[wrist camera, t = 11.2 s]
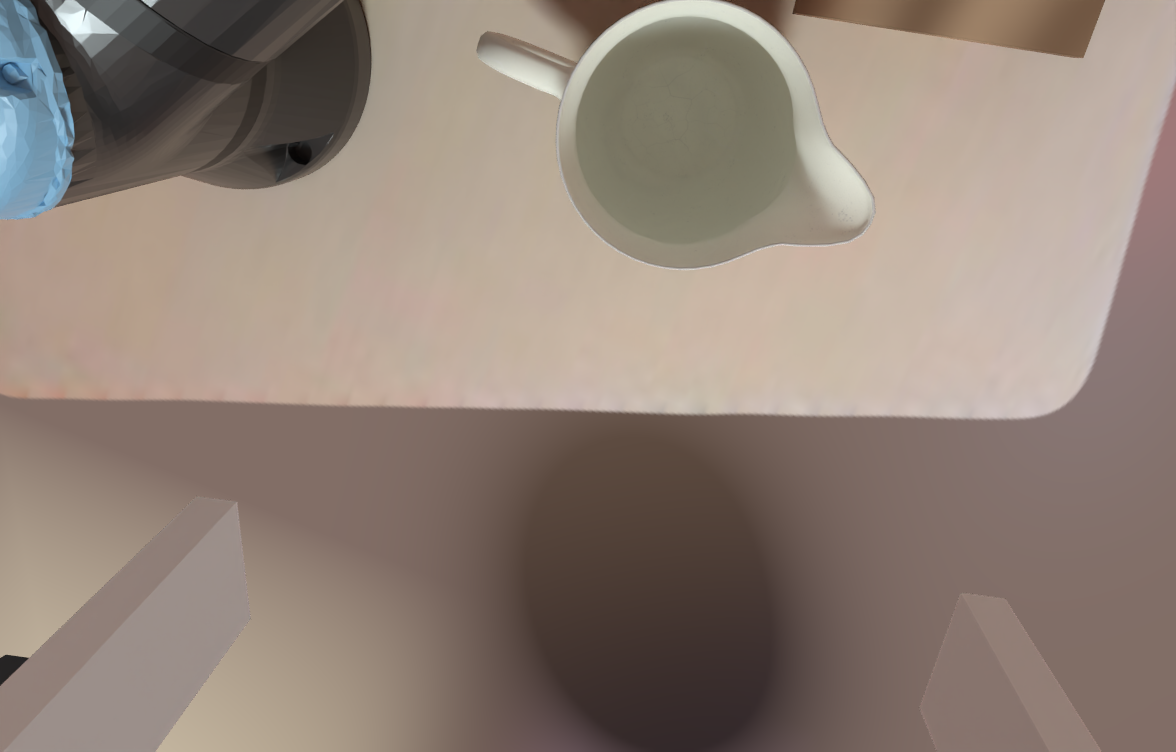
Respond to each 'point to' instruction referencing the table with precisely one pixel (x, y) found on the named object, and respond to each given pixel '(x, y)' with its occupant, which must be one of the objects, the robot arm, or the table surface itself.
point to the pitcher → (693, 136)
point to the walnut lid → (975, 20)
